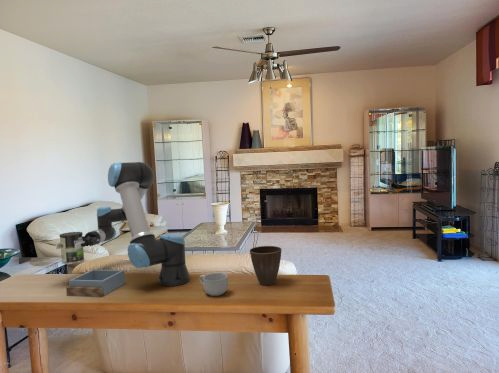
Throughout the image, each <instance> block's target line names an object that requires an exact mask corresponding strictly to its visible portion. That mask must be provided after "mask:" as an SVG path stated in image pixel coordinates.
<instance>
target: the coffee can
mask: <svg viewBox="0 0 499 373" xmlns="http://www.w3.org/2000/svg"><path fill="white" fill-rule="evenodd" d="M83 233H84V232H83V231H70V232H64V233H60V234H59V243H60V244H61V248H60V257H61V264H62V265H71V264H72V265H73V264H78V263H82V262H84V261H85V253H84V251H85V250H84V247H82V248H79V249H76V250H75V244H76V243H79V242H83V236H84V235H83Z"/></svg>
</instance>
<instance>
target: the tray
mask: <svg viewBox="0 0 499 373" xmlns="http://www.w3.org/2000/svg"><path fill="white" fill-rule="evenodd" d="M125 277H126V275H125V270H124V269H119V270H118V269H90V270H89V271H87V272H84V273H82V274H79V275H77V276H76V277H73V278H71V279H69V280H68V286H72V287H99V288H104V296H106V295H107V294H109V293H112V292H113V291H114V290H116V289H118V288H119V287H122V286H123V285H125V284H126V280H125Z"/></svg>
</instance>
